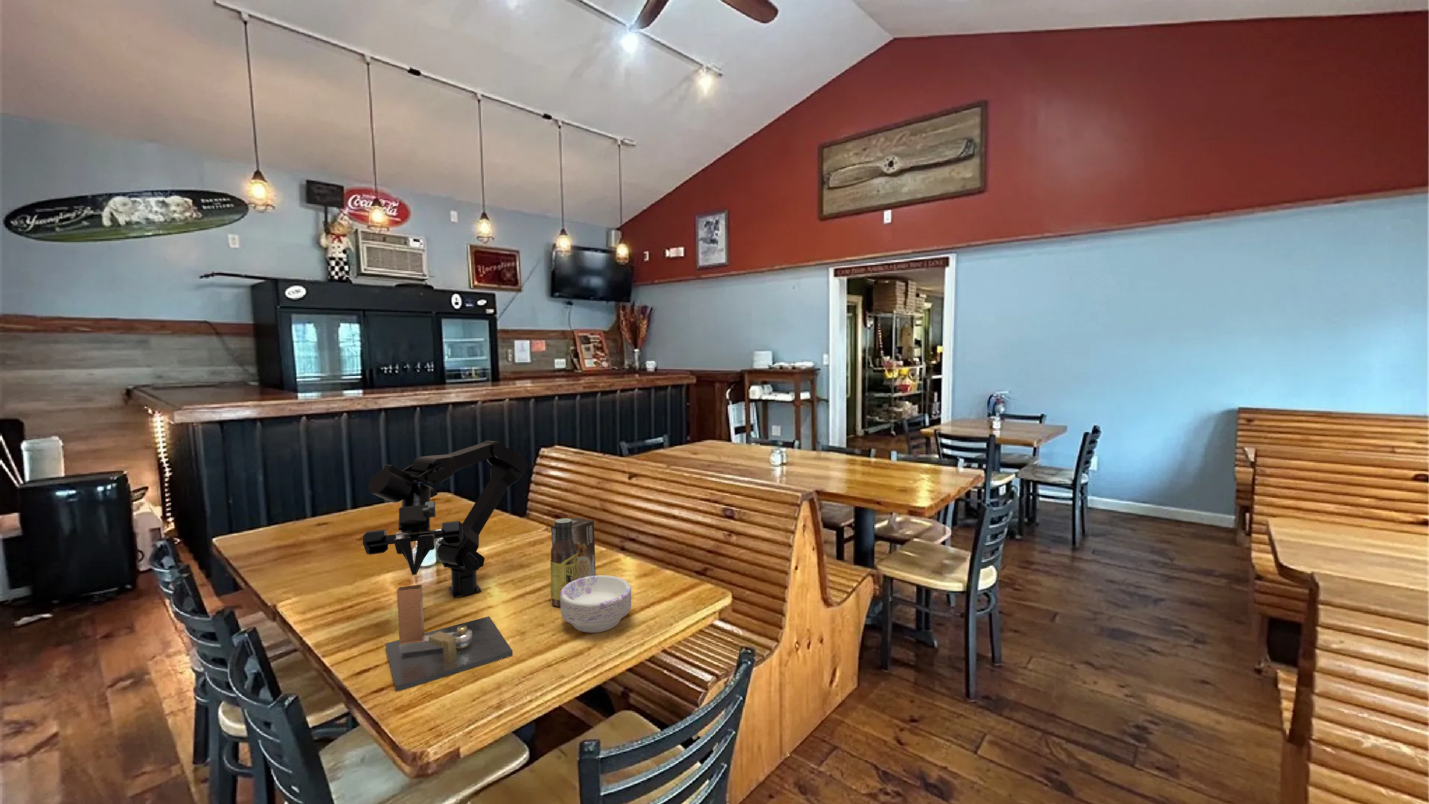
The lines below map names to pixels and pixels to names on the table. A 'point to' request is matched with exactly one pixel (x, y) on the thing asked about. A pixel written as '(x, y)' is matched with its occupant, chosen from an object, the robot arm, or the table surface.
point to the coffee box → (582, 545)
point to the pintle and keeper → (448, 643)
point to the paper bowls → (595, 602)
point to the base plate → (431, 662)
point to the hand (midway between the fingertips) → (414, 574)
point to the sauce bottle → (563, 559)
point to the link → (418, 622)
